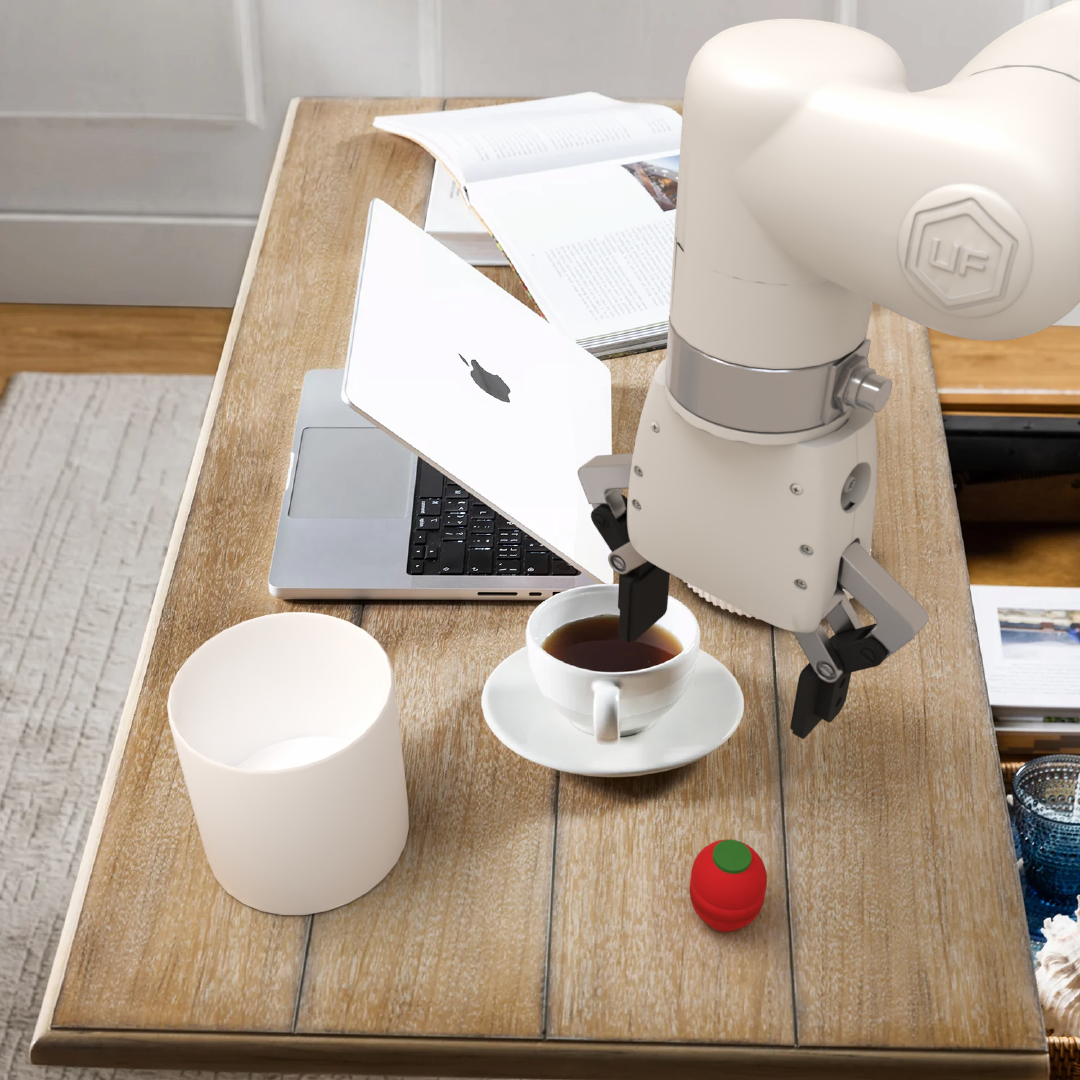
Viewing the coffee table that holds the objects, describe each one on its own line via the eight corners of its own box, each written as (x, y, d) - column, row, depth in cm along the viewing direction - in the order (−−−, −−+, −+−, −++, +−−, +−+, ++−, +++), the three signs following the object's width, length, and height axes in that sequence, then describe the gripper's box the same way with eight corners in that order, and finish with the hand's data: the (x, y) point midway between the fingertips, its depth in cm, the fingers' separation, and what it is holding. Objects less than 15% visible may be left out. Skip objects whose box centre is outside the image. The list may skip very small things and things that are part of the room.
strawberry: (774, 907, 70) (785, 849, 67) (736, 959, 68) (745, 900, 64) (712, 870, 72) (719, 811, 69) (672, 919, 69) (679, 860, 66)
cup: (416, 753, 79) (402, 609, 71) (401, 916, 70) (383, 772, 62) (226, 754, 79) (192, 610, 71) (186, 917, 70) (142, 773, 62)
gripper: (1013, 397, 48) (927, 711, 59) (641, 261, 57) (626, 557, 67) (919, 490, 43) (846, 811, 54) (531, 327, 52) (535, 632, 63)
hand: (724, 670), depth 61 cm, fingers open, 9 cm apart
